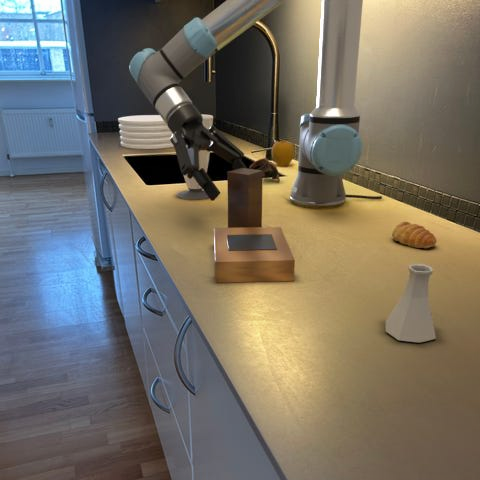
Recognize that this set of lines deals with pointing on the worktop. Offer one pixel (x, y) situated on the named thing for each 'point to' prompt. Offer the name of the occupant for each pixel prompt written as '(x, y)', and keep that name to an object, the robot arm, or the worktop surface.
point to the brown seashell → (266, 168)
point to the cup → (192, 185)
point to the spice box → (244, 198)
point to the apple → (283, 153)
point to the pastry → (413, 235)
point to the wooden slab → (252, 255)
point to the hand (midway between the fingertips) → (235, 191)
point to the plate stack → (144, 132)
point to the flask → (413, 309)
